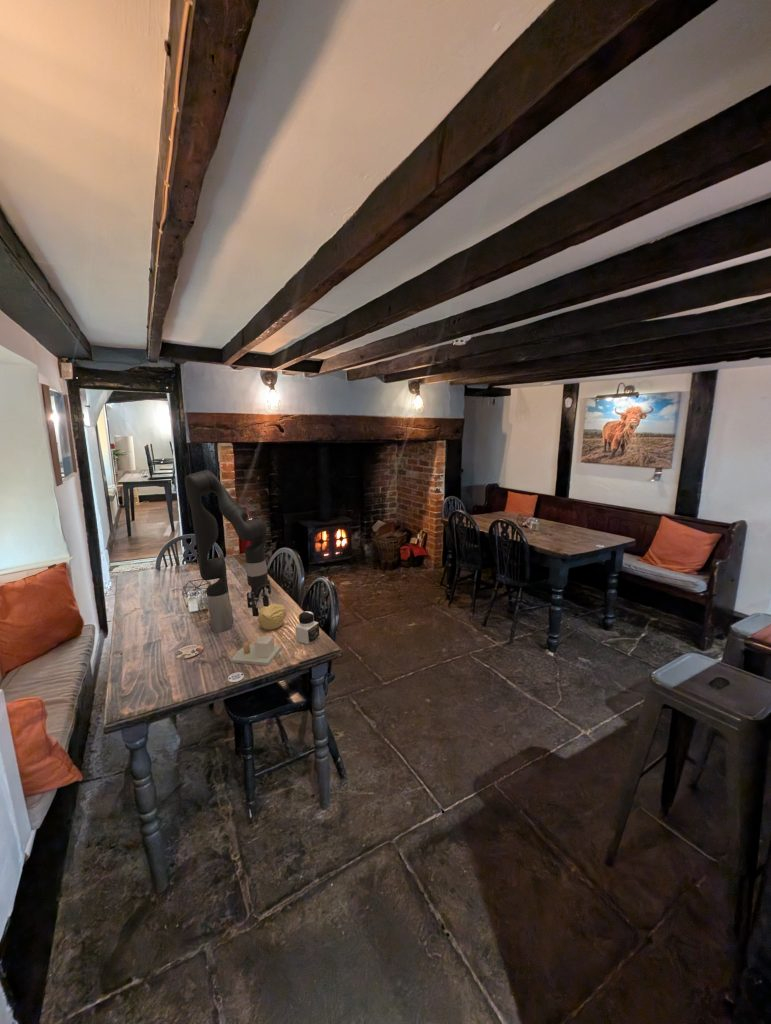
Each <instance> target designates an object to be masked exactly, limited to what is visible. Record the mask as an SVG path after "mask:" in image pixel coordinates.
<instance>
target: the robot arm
mask: <svg viewBox="0 0 771 1024" xmlns="http://www.w3.org/2000/svg"><path fill="white" fill-rule="evenodd" d="M184 487H185V490H186V491H185V492H186V496H187V499H188V503H189V507H190V512H191V519H192V525H193V532H194V537H195V538H194V539H195V543H196V550H197V555H198V557H197V558H198V566H199V574H200V577H201V579H202V580H203V581H212V580H216V581H215V582H214V583H212V584H210V585H208V587H206V590H205V591H206V599H207V606H208V612H209V613H208V614H209V619H210V620H209V621H210V627H211V632H213V633H224V632H226V631H229V630H230V629H232V628H233V627H234V616H233V608H232V607H233V606H232V604H231V600H230V591H229V584H228V577H227V564H226V560H225V558H224V557H223V556H222V557H215V558H214V557H213V558H208V555H209V552H210V551H211V549H212V547H213V546H214V545H215V543H216V541H217V539H218V537H219V528H218V527H219V526H218V522H217V519H216V517H215V516H214V515H213V514H212V513H211V512H210V511H208V510H207V508H205V506H204V505H203V502H202V496H204V495H208V494H211V493H213V494H215V495H216V496H217V498H218V499H217V500H218V508H219V511H220V513H221V515H222V516H223V517H224V518H225V520H227V521H228V522H229V523H230V524H231V525H232V527H233V529H234V531H235V533H236V535H237V536H238V538H239V539H240V540H241V541H243V542H250V541H251V543H250V544H248V545H247V546H246V547H245V549H244V557H245V572H246V578H247V579H246V581H247V585H248V587H250V589H251V590H250V591H249V592H248V591H247V593H246V601H247V603H246V604H247V608H248V609H251V611H252V616H253V617H255V618H256V617H257V618H258V616H259V611H260V610H259V602H260V601H261V599H262V605H263V607H264V606H265V607H268V606H269V604H270V600H269V598H270V595H271V594H272V589H271V588H272V587H271V581H270V579H269V576H268V567H267V561H266V554H265V548H266V547H265V546H266V542H267V541H266V540H267V535H268V529H267V526H266V523H265V522H264V521H263V520H262V519H259V518H256V519H253V520H249V521H248V519H249V514H248V512H247V511H246V510H245V509H244V508H243V507H242V506H241V505H240V504H239V503H238V502H237V501H236V500H235V499H234V498H233V497H232V496H231V495H230V493H229V492H228V490H227V489H226V487H225V486H224V485H223V483H222V482H221V480H219V478H218V477H217V476H216V474H214V473H213V471H211V470H209V469H205V470H200V471H196V472H194V473H190V474H188V475H186V476H185V479H184ZM217 579H218V580H217Z"/></svg>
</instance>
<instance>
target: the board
mask: <svg viewBox="0 0 771 1024" xmlns="http://www.w3.org/2000/svg"><path fill="white" fill-rule="evenodd" d="M274 646H275V651H274V652H273V653H272V655H271V656H270V657H269V658H264V657H256V652H255V643H254V644H253V643H252V644H251V643H250V642H249V641H245V642H243V643H242V647H241V649H239V650H238V651H237V652H236V653H235V654H234V655H233V656H232V657H231V658H230V659H229V662H230V663H231V664H242V665H255V666H266V667H267V666H270V664H271V663H272V662H273V660H274V659H275V658H276V657H277V655H278V654H279V653H280V652H281V651H282V650H283V649H282V646H280V645H279V646H278V645H274Z"/></svg>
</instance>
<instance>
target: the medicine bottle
mask: <svg viewBox="0 0 771 1024" xmlns="http://www.w3.org/2000/svg"><path fill="white" fill-rule="evenodd" d="M298 619H299V621H298V622H299V623H297V624H296V625H295V627H294V629H295V636H296V637H295V638H296V642H298V643H302V644H305V645H311V644H313V643H314V642H315V641H316V640H318V639H319V638H320V626H319V625H320V624H319V622H318V621H315V618H314V613H313V612H312V611H303V612H300V614H299V615H298Z"/></svg>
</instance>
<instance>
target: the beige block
mask: <svg viewBox="0 0 771 1024" xmlns="http://www.w3.org/2000/svg"><path fill="white" fill-rule="evenodd" d="M254 645H255V652H256V657H264V658H269V657H270V656H271V655H272V653H273V652H274V651H275V646H276V645H275V638H274V636H264V635H263V636H262V635H261V636H259V638H257V639H256V641H255V642H254Z"/></svg>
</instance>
